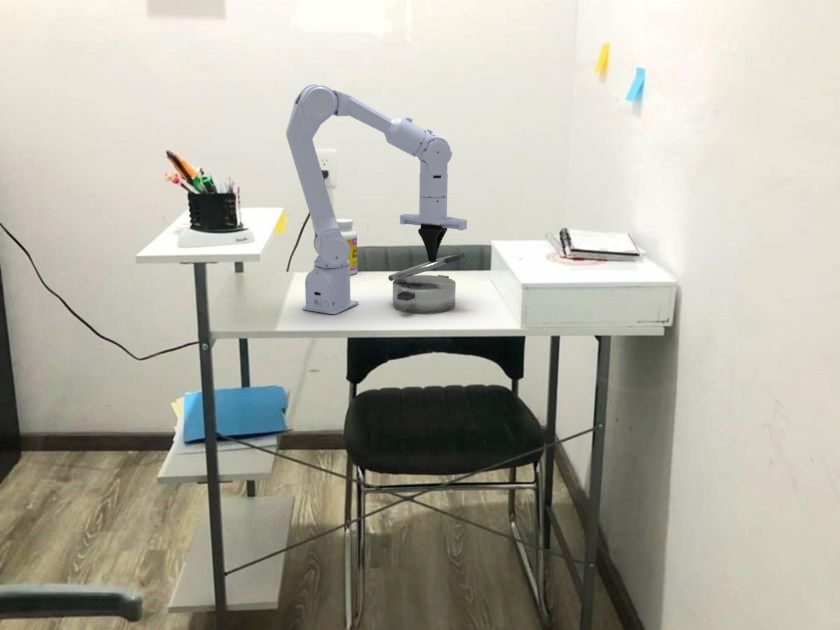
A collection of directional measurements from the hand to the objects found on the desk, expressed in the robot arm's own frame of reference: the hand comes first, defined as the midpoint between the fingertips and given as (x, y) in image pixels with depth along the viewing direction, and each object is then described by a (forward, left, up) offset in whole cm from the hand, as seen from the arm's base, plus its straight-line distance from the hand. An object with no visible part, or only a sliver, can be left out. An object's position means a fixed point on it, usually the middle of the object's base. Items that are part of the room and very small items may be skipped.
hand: (432, 260), depth 170 cm
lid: (-4, -1, -1) cm, 4 cm away
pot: (-4, 0, -9) cm, 9 cm away
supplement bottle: (+12, +30, -9) cm, 33 cm away
